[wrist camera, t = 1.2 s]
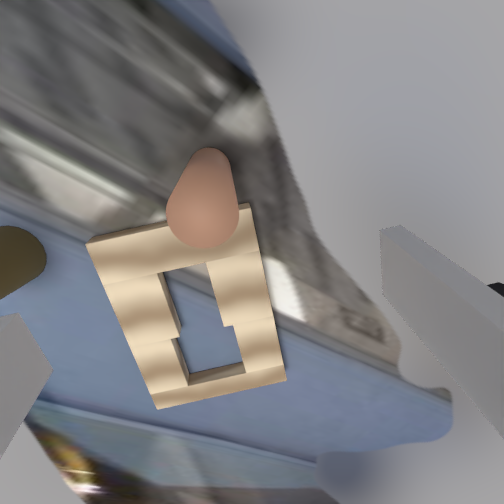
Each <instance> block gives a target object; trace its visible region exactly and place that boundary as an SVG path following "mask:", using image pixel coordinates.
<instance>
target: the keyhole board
mask: <svg viewBox="0 0 504 504" xmlns="http://www.w3.org/2000/svg"><path fill="white" fill-rule="evenodd" d="M238 208H239V221H238V225H237V227H236V230H235V231H234V233H233V234H232V236H231V237H230V238H229V239H228V240H227V241H225V242H224V243H222V244H220V245H218V246H215V247H212V248H196V247H192V246H189V245H187V244H185V243H183V242H182V241H180V240H179V239H178V238H177V237H176V236H175V235H174V234H173V232H172V231H171V229H170V227H169V225H168V222H167V221H163V222H158V223H154V224H149V225H145V226H140V227H136V228H131V229H127V230H122V231H118V232H113V233H109V234H104V235H100V236H95V237H92V238H91V239H90V240H89V241H88V242H87V243H86V244H85V245H86V247H87V250H88V252H89V254H90V256H91V259H92V261H93V263H94V266H95V268H96V270H97V273H98V275H99V277H100V279H101V282H102V284H103V286H104V289H105V291H106V293H107V295H108V298H109V300H110V302H111V305H112V307H113V309H114V312H115V314H116V316H117V318H118V321H119V323H120V325H121V328H122V330H123V332H124V334H125V337H126V339H127V341H128V344H129V346H130V348H131V351H132V353H133V355H134V357H135V360H136V362H137V364H138V367H139V369H140V371H141V373H142V376H143V378H144V380H145V383H146V385H147V387H148V390H149V392H150V394H151V396H152V399H153V401H154V403H155V406H156V408H157V410H158V409H162V408H167V407H171V406H176V405H180V404H185V403H189V402H193V401H198V400H202V399H207V398H211V397H216V396H220V395H225V394H229V393H234V392H238V391H243V390H247V389H251V388H256V387H260V386H265V385H269V384H274V383H278V382H283V381H287V379H286V374H285V369H284V364H283V360H282V355H281V350H280V345H279V341H278V336H277V331H276V326H275V322H274V317H273V312H272V308H271V303H270V298H269V293H268V289H267V284H266V279H265V274H264V270H263V265H262V260H261V255H260V251H259V246H258V241H257V237H256V232H255V227H254V222H253V218H252V213H251V208H250V205H249V202H248V203H244V204H239V205H238ZM205 262H206V265H207V269H208V272H209V276H210V279H211V283H212V286H213V290H214V293H215V297H216V300H217V304H218V307H219V311H220V314H221V318H222V321H223V325H224V327H226V326H231V325H233V326H234V330H235V334H236V337H237V341H238V345H239V348H240V352H241V356H242V359H243V362H240V363H236V364H231V365H227V366H223V367H218V368H214V369H209V370H205V371H200V372H196V373H191V374H189V371H188V369H187V366H186V363H185V360H184V358H183V355H182V352H181V349H180V346H179V344H178V341H177V337H180V331H181V324H180V321H179V318H178V315H177V312H176V309H175V306H174V304H173V301H172V298H171V295H170V292H169V289H168V286H167V283H166V281H165V278H164V275H163V272H165V271H169V270H174V269H178V268H183V267H187V266H192V265H196V264H201V263H205Z"/></svg>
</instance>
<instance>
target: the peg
mask: <svg viewBox="0 0 504 504" xmlns="http://www.w3.org/2000/svg"><path fill="white" fill-rule="evenodd" d="M166 218H167V222H168V225H169V227H170V229H171V231H172V232H173V234H174V235H175V236H176V237H177V238H178V239H179V240H180V241H182V242H183V243H185V244H187V245H189V246H192V247H196V248H212V247H215V246H218V245H220V244H222V243H224V242H225V241H227V240H228V239H229V238H230V237H231V236H232V234H233V233H234V231H235V230H236V227H237V225H238V221H239V208H238V202H237V197H236V192H235V187H234V182H233V177H232V172H231V167H230V163H229V160H228V158H227V157H226V156H225V154H224V153H223V152H221V151H220V150H218V149H215V148H210V147H207V148H202V149H200V150H198V151H196V152H195V153H194V154H193V155H192V157H191V159H190V160H189V162H188V164H187V166H186V168H185V170H184V172H183V173H182V175H181V177H180V179H179V181H178V183H177V185H176V186H175V188H174V190H173V192H172V194H171V196H170V198H169V200H168V203H167V207H166Z"/></svg>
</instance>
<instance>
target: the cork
mask: <svg viewBox="0 0 504 504" xmlns="http://www.w3.org/2000/svg"><path fill="white" fill-rule="evenodd" d="M45 265H46V253H45V250H44V247H43V246H42V244H41V243H40V242H39V240H38V239H37V238H36V237H35V236H33V235H32V234H31V233H29V232H28V231H25V230H23V229H21V228H19V227H13V226H1V227H0V300H1V299H2V298H4V297H5V296H7V295H9V294H10V293H12V292H13V291H15V290H17V289H18V288H20V287H22V286H23V285H25V284H26V283H28V282H30V281H31V280H33V279H34V278H36V277H38V276H39V275H40V274H41V273H42V272H43V270H44V268H45Z"/></svg>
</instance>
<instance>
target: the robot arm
mask: <svg viewBox="0 0 504 504" xmlns="http://www.w3.org/2000/svg"><path fill="white" fill-rule="evenodd" d="M380 248H381V268H382V289H383V295H384V297H385V298H386V299H387V300H388V301H389V302H390V304H391V305H392V306H393V307H394V309H395V310H396V311H397V312H398V313H399V315H400V316H401V317H402V318H403V319H404V321H405V322H406V323H407V324H408V325H409V327H410V328H411V329H412V330H413V331H414V333H416V335H417V336H418V337H419V338H420V340H421V341H422V342H423V343H424V344H425V346H426V347H427V348H428V349H429V350H430V352H431V353H432V354H433V355H434V356H435V358H436V359H437V360H438V361H439V362H440V363H441V365H442V366H443V367H444V368H445V370H446V371H447V372H448V373H449V374H450V375H451V377H452V378H453V379H454V380H455V381H456V383H457V384H458V385H459V386H460V388H461V389H462V390H463V391H464V392H465V393H466V394H467V396H468V397H469V398H470V399H471V401H472V402H473V403H474V404H475V405H476V407H478V409H479V410H480V411H481V413H482V414H483V415H484V416H485V417H486V419H487V420H488V421H489V422H490V423H491V425H492V426H493V427H494V428H495V429H496V431H497V432H498V433H499V434H500V435H501V436H502V438H503V439H504V284H502V283H494V284H490V285H485V284H484V283H483V282H481V281H480V280H478V279H477V278H476V277H474V276H473V275H471V274H469V273H468V272H467V271H466V270H464V269H463V268H461V267H460V266H458V265H457V264H456V263H454V262H453V261H451V260H450V259H448V258H447V257H445V256H444V255H443V254H441V253H440V252H438V251H437V250H436V249H434V248H433V247H431V246H430V245H428V244H427V243H426V242H424V241H423V240H421V239H420V238H418V237H417V236H415V235H414V234H412V233H411V232H410V231H408V230H407V229H405V228H404V227H403V226H401V225H399V226H395V227H390V228H386V229H382V230H380ZM52 372H53V369H52V367H51V365H50V364H49V362H48V360H47V359H46V357H45V355H44V354H43V352H42V350H41V349H40V347H39V346H38V344H37V342H36V341H35V339H34V337H33V336H32V334H31V332H30V331H29V329H28V328H27V326H26V324H25V323H24V321H23V319H22V318H21V316H20V314H19V313H15V314H11V315H7V316H2V317H0V459H1V457H2V455H3V453H4V452H5V450H6V449H7V447H8V445H9V443H10V442H11V440H12V438H13V437H14V435H15V433H16V432H17V430H18V428H19V427H20V425H21V423H22V422H23V420H24V418H25V417H26V415H27V413H28V412H29V410H30V408H31V407H32V405H33V403H34V402H35V400H36V398H37V397H38V395H39V393H40V392H41V390H42V388H43V387H44V385H45V383H46V382H47V380H48V378H49V377H50V375H51V373H52Z"/></svg>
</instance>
